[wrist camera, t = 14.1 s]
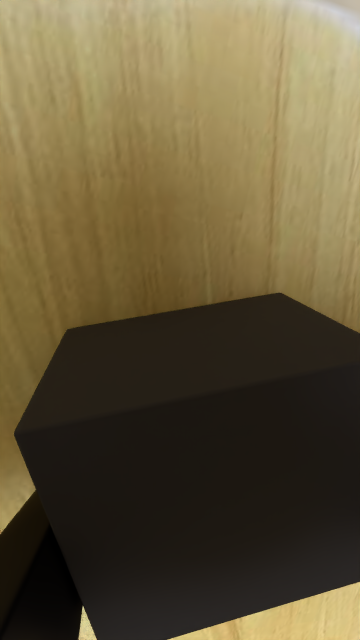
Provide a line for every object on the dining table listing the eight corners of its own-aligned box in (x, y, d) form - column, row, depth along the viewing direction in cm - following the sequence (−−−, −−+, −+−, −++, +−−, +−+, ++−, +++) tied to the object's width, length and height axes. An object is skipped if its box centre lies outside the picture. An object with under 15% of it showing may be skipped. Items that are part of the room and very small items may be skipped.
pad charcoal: (280, 291, 8) (400, 352, 5) (280, 453, 11) (363, 581, 7) (66, 328, 8) (11, 433, 4) (112, 492, 10) (103, 660, 6)
